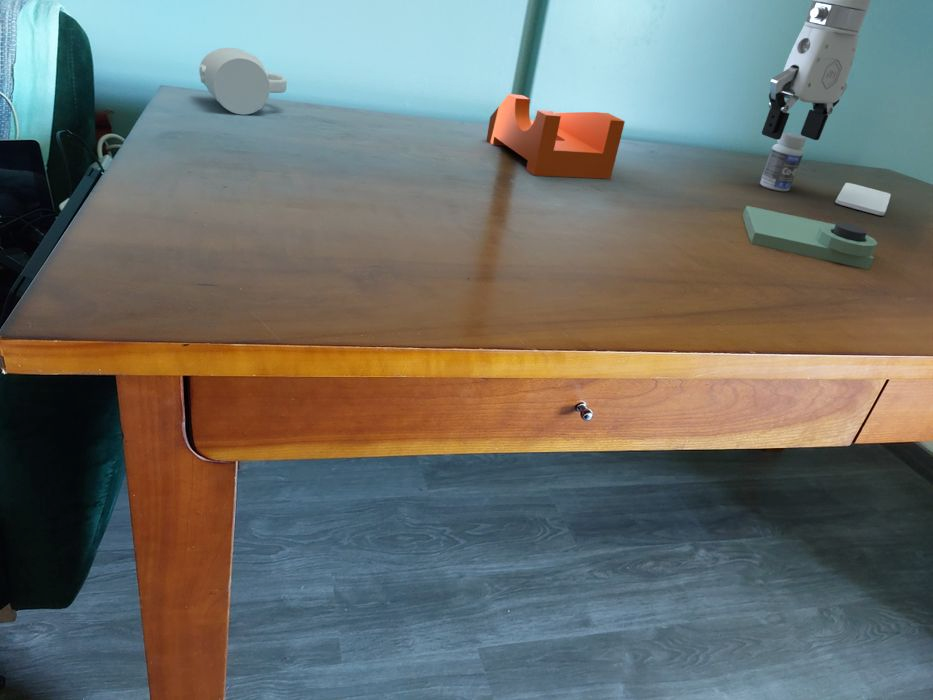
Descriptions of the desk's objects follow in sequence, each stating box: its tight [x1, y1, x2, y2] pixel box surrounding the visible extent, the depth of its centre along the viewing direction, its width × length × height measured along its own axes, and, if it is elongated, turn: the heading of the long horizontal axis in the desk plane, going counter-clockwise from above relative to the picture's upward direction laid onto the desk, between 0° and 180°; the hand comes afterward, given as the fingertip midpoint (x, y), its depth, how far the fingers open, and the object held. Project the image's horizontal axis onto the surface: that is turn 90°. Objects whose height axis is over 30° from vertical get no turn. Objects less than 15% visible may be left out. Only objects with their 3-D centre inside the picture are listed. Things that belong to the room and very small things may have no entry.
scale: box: [742, 205, 878, 270], centre depth 93 cm, size 14×13×3 cm
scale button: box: [832, 221, 868, 242], centre depth 89 cm, size 4×4×1 cm
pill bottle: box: [759, 131, 807, 192], centre depth 116 cm, size 5×5×8 cm
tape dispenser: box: [486, 93, 626, 180], centre depth 110 cm, size 18×13×8 cm
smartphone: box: [835, 182, 892, 216], centre depth 118 cm, size 7×1×15 cm
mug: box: [198, 47, 287, 116], centre depth 110 cm, size 12×9×8 cm
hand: (790, 137), depth 114 cm, fingers open, 9 cm apart
